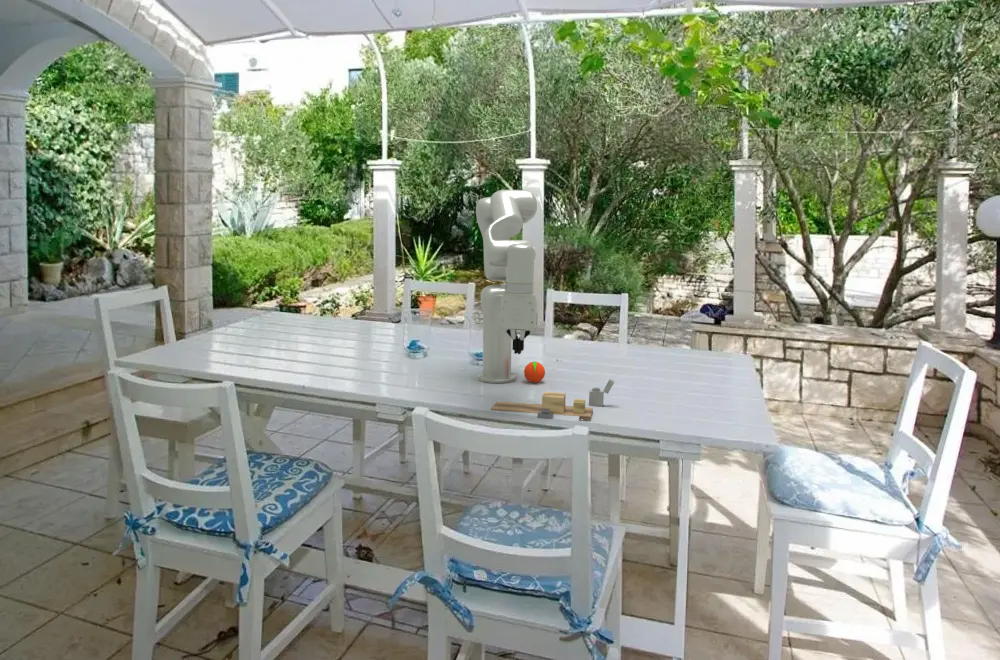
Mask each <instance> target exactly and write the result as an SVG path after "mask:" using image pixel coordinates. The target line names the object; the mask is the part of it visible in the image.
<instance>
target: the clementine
mask: <svg viewBox="0 0 1000 660" xmlns="http://www.w3.org/2000/svg"><path fill="white" fill-rule="evenodd" d="M523 375H524V377H525V379H526V380H527V381H528V382H529V383H532V384H535V383H540V382H541V381H543V379H544V377H545V375H546V369H545V366H543V364H541V363H540V362H538V361H532V362H531V361H530V362H528V364H527V365H526V366H525V367H524V370H523Z"/></svg>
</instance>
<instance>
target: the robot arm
mask: <svg viewBox="0 0 1000 660" xmlns="http://www.w3.org/2000/svg"><path fill="white" fill-rule="evenodd" d="M537 200H538V199H537V197H536V195H535V194H534V192H532V191H531V190H528V189H527V190H526V189H500V190H497V191H496V192H494V193H493V194H492V195H491V196H489V197H482V198H480V199H479V200H477V203H476V206H475V214H476V215H475V216H476V221H477V225H478V228H479V230H480V233H481V237H482V241H483V242H482V243H483V245H482V246H483V267H484V268H483V269H484V270H483V271H484V276H485V277H486V279H487V280H490V281H492V282H493V281H495V282H499V281H500V282H501V281H502V282H504V283H500V284H491V285H487V286H485V287H484V288H483V289H482V290H481V292H480V305H481V313H482V372H480V373H479V374H478V375H477V379H478V381H481V382H484V383H490V384H491V383H492V384H505V383H510V382H514V381H515V380H516V375H515V374H514V373H513V372H512V351H514V354H518V355H521V353H522V351H523V352H524V348H525V339H526V338H527V337H528V336H529V335H535V334H537V333H538V331H539V330H538V305H537V303H538V302H537V295H536V293H535V291H534V278H535V277H534V275H535V274H534V273H535V260H536V255H537V254H536V247H535V245H534V244H533V242H531V241H530V240H525V239H524V240H523V239H521V240H520V239H519V240H518V239H516V240H515V239H510V238H512V237H514V236H516V235H517V234H519V233H520V232H521V230H522V228H523V226H524V224H527V223H529V222H530V221H531V220H532V219H533V218H534V217H535V216H536V214H537V210H538V201H537ZM518 331H520V334H519V337H518Z"/></svg>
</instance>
